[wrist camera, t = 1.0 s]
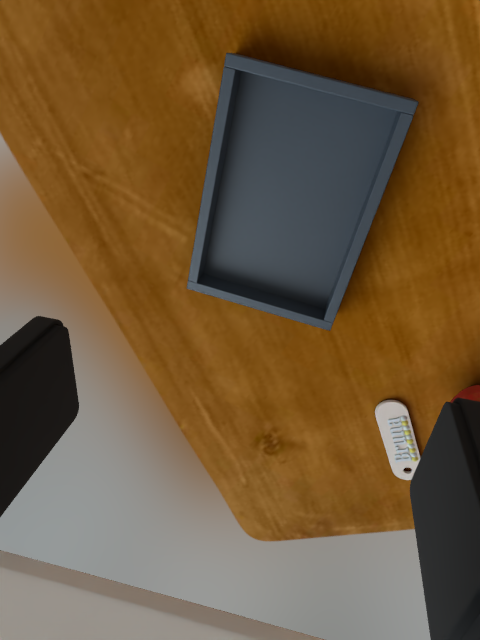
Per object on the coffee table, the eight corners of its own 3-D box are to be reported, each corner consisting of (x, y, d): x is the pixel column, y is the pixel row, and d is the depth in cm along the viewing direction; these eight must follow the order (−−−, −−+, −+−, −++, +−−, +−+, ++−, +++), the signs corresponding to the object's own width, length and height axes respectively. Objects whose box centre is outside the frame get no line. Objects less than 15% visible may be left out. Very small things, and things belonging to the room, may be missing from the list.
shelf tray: (234, 53, 31) (226, 52, 28) (413, 98, 30) (419, 101, 27) (195, 276, 40) (186, 288, 38) (330, 316, 39) (329, 331, 37)
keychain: (426, 480, 45) (395, 483, 46) (425, 476, 46) (395, 478, 47) (405, 401, 41) (372, 406, 42) (404, 397, 41) (371, 402, 42)
